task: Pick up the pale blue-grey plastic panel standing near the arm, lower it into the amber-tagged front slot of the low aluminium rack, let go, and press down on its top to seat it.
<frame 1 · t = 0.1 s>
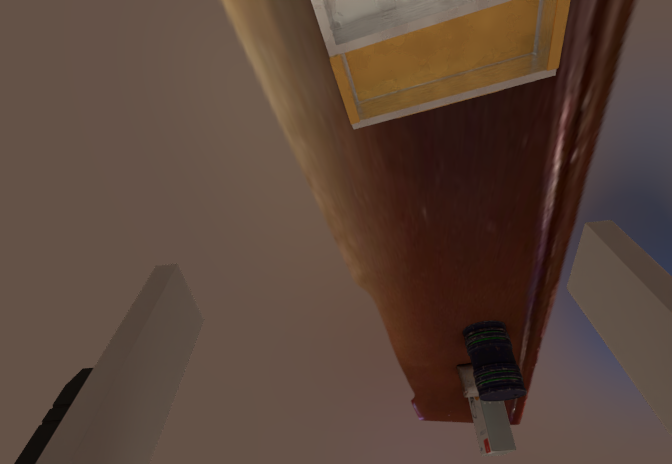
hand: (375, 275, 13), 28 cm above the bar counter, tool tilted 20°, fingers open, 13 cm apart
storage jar: (483, 328, 91), on the bar counter
hard drive box: (481, 388, 135), on the bar counter
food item: (479, 364, 113), on the bar counter
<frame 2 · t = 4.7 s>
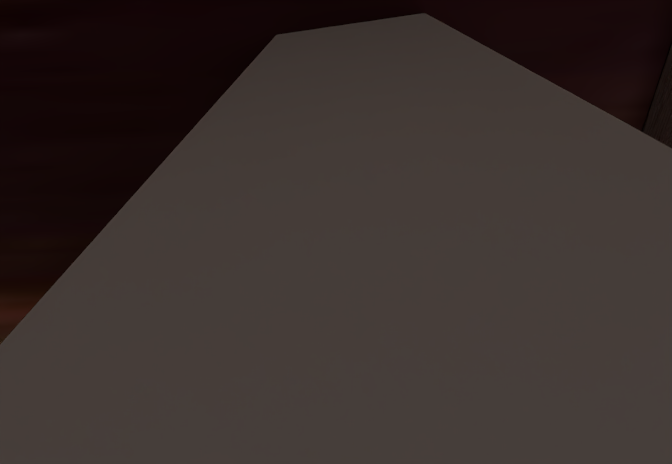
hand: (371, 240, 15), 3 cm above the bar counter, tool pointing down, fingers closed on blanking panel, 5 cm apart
blanking panel: (367, 202, 17), on the bar counter, touching gripper
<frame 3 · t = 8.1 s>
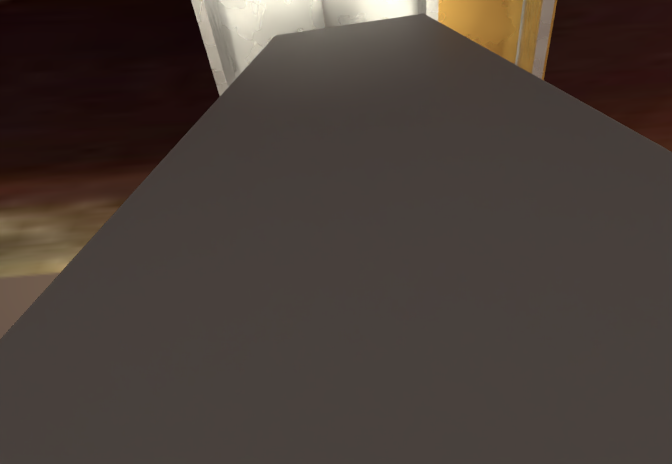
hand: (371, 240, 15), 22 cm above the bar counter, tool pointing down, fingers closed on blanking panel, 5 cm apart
blanking panel: (366, 203, 17), point 19 cm above the bar counter, touching gripper
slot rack: (375, 85, 32), on the bar counter
when the fingers open (5 cm above the bar counter, at t = 11.5 s): blanking panel drops 1 cm, resting on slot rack.
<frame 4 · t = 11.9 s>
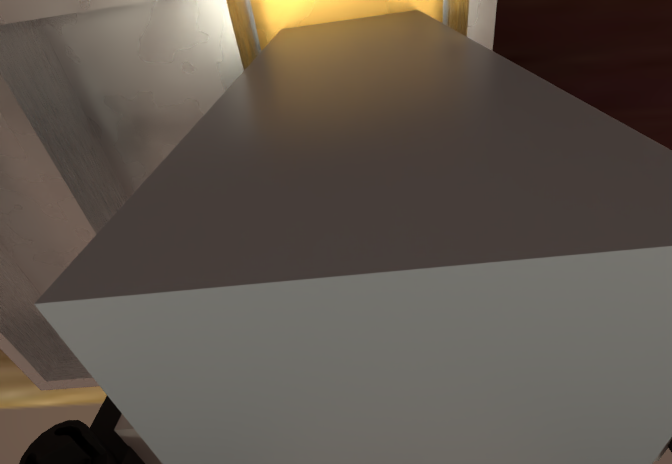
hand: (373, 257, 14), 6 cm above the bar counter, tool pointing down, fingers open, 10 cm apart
blanking panel: (364, 188, 18), point 1 cm above the bar counter, touching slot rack
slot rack: (207, 200, 19), on the bar counter
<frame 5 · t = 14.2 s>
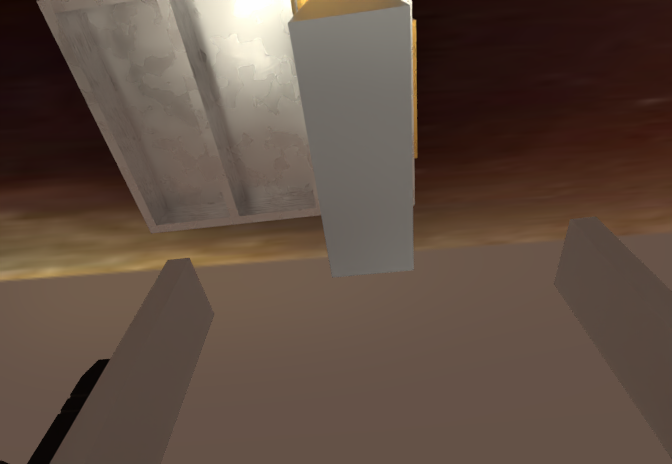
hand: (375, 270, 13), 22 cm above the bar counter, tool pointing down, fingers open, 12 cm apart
blanking panel: (353, 94, 31), point 1 cm above the bar counter, touching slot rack
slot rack: (261, 104, 32), on the bar counter
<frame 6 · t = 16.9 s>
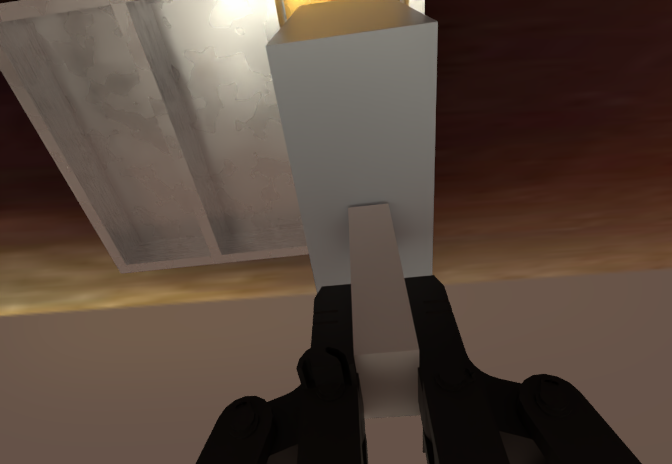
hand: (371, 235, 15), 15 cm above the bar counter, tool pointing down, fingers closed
blanking panel: (353, 116, 27), point 1 cm above the bar counter, touching gripper, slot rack
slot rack: (245, 127, 28), on the bar counter
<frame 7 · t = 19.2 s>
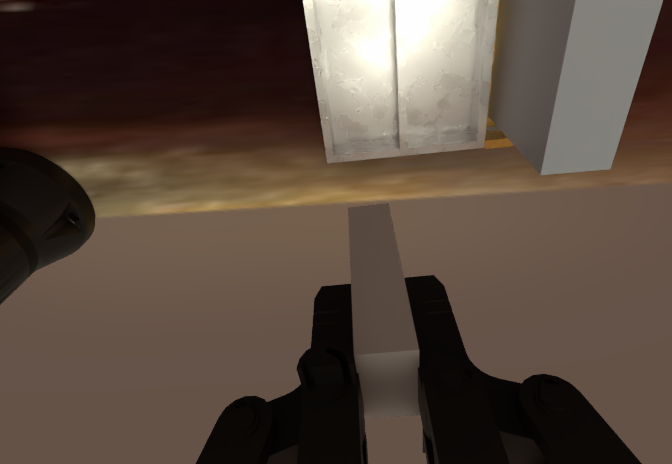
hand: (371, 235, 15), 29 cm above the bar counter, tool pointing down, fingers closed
blanking panel: (522, 40, 36), point 1 cm above the bar counter, touching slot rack
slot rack: (437, 49, 38), on the bar counter
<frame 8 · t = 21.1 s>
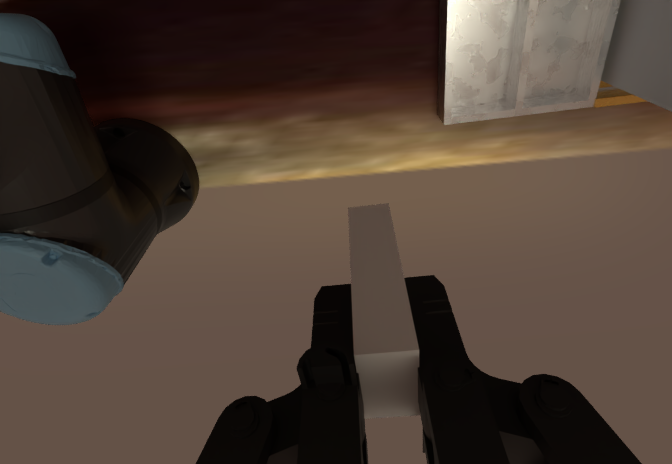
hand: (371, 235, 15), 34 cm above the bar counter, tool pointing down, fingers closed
blanking panel: (636, 3, 39), point 1 cm above the bar counter, touching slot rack
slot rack: (555, 13, 40), on the bar counter
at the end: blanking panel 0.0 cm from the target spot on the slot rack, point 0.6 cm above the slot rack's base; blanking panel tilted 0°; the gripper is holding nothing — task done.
